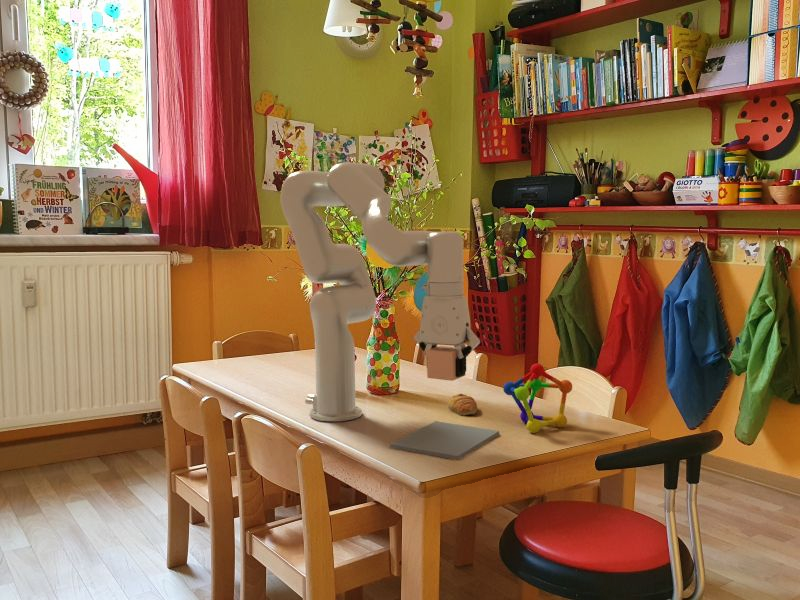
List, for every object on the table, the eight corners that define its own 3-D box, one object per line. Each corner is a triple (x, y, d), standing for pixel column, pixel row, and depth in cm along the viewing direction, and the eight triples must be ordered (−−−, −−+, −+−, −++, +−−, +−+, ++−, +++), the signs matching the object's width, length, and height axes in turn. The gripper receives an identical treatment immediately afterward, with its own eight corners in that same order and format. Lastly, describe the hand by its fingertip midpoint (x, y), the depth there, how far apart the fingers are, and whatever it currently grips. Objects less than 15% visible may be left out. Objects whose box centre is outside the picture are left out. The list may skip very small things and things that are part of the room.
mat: (389, 447, 153) (389, 443, 153) (435, 424, 170) (435, 421, 170) (457, 460, 145) (457, 456, 145) (499, 434, 162) (499, 430, 162)
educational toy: (529, 419, 178) (534, 357, 177) (574, 430, 168) (579, 365, 167) (486, 425, 167) (491, 360, 167) (531, 437, 158) (536, 368, 157)
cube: (427, 377, 155) (427, 350, 154) (440, 372, 160) (440, 345, 159) (452, 380, 152) (452, 352, 151) (465, 375, 157) (465, 347, 156)
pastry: (483, 416, 178) (483, 400, 178) (456, 418, 176) (456, 402, 176) (471, 406, 187) (470, 392, 187) (445, 408, 186) (445, 393, 185)
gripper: (401, 290, 155) (402, 374, 157) (474, 293, 146) (475, 382, 148) (419, 287, 162) (420, 367, 164) (490, 290, 153) (490, 375, 155)
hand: (446, 373), depth 156 cm, fingers closed on cube, 6 cm apart
